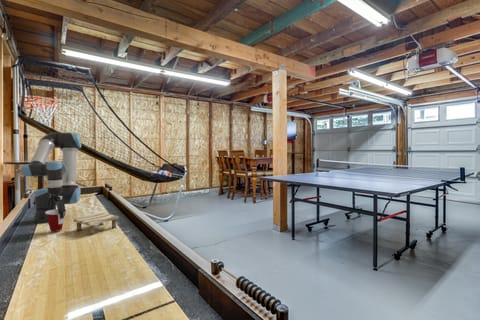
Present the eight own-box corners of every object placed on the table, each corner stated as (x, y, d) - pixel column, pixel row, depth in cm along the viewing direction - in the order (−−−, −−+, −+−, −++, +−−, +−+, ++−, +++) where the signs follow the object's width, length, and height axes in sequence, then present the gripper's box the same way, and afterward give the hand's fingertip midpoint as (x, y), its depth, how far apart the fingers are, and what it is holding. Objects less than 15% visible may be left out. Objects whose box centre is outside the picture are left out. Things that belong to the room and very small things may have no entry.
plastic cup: (58, 233, 149) (58, 213, 148) (41, 233, 149) (40, 213, 149) (71, 227, 160) (70, 208, 159) (54, 227, 160) (54, 208, 159)
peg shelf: (74, 231, 155) (73, 219, 155) (102, 223, 171) (102, 212, 171) (90, 236, 146) (90, 223, 146) (118, 227, 162) (118, 216, 162)
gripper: (39, 186, 156) (40, 220, 157) (57, 189, 144) (59, 226, 145) (52, 184, 162) (54, 217, 163) (71, 187, 150) (73, 223, 152)
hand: (56, 222), depth 154 cm, fingers closed on plastic cup, 11 cm apart
